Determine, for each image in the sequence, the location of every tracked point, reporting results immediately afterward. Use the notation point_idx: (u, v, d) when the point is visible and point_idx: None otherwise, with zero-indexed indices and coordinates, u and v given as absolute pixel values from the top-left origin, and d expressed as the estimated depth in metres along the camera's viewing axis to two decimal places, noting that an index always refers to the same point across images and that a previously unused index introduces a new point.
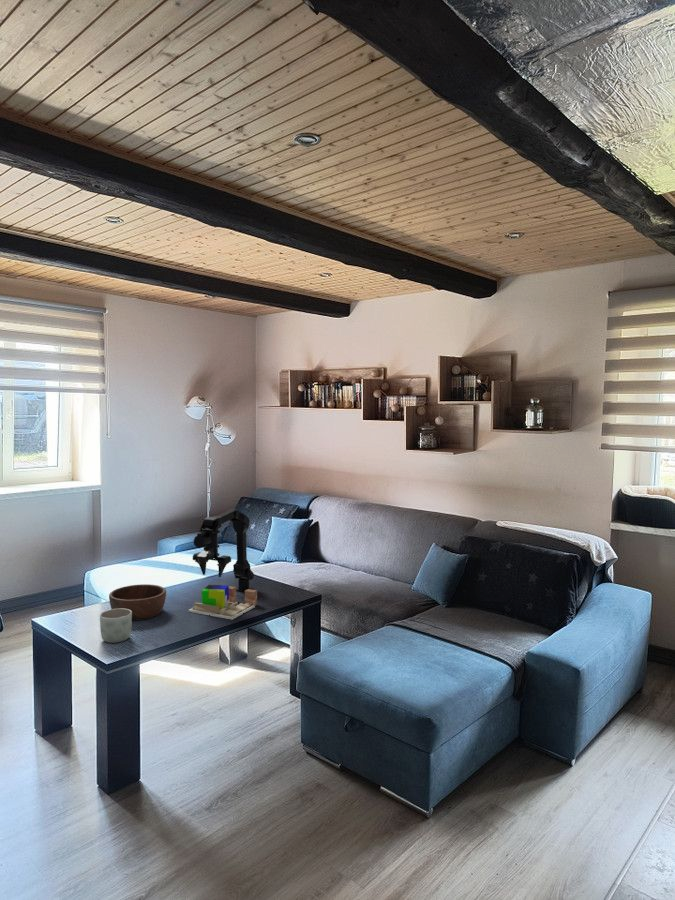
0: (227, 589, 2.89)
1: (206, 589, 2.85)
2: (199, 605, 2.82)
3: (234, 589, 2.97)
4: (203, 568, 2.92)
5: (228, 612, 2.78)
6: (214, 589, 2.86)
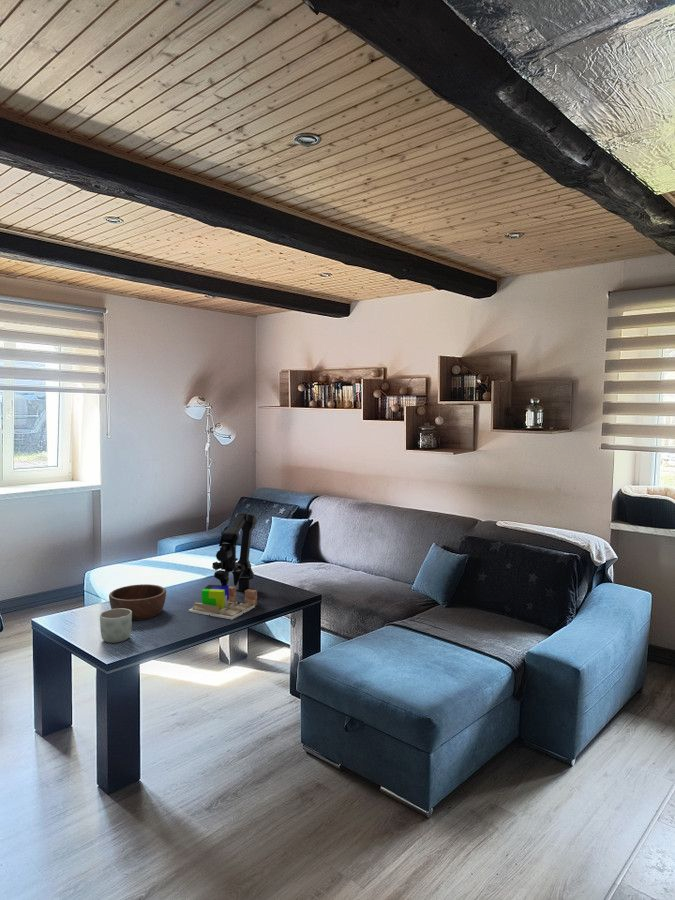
0: (227, 589, 2.89)
1: (206, 589, 2.85)
2: (199, 605, 2.82)
3: (234, 589, 2.97)
4: (234, 579, 3.02)
5: (228, 612, 2.78)
6: (214, 589, 2.86)
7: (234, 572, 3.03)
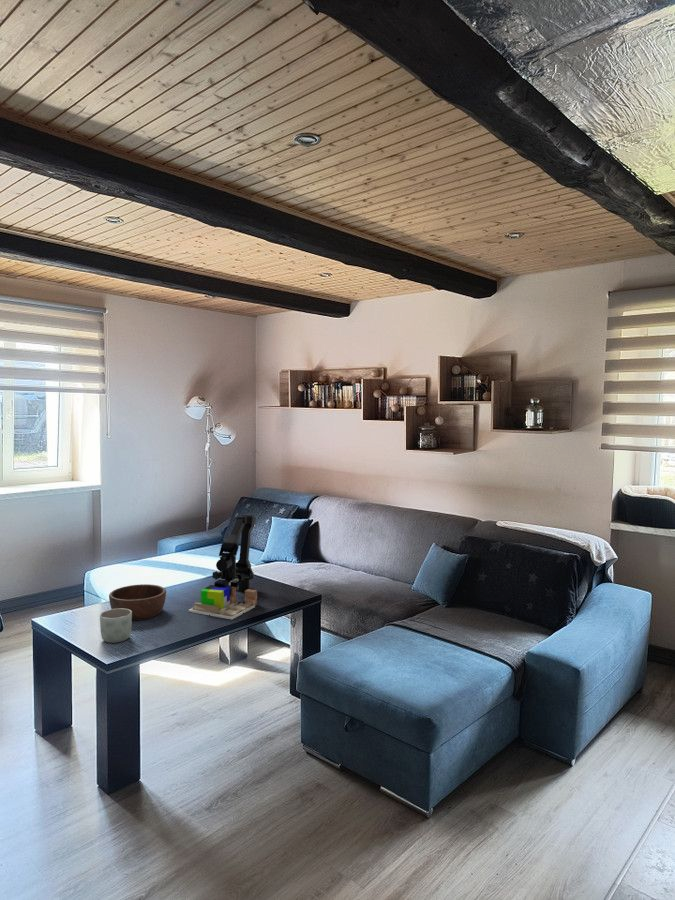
0: (227, 590, 2.88)
1: (206, 589, 2.84)
2: (199, 605, 2.82)
3: (234, 589, 2.97)
4: None
5: (228, 612, 2.78)
6: (213, 589, 2.85)
7: (231, 583, 3.00)
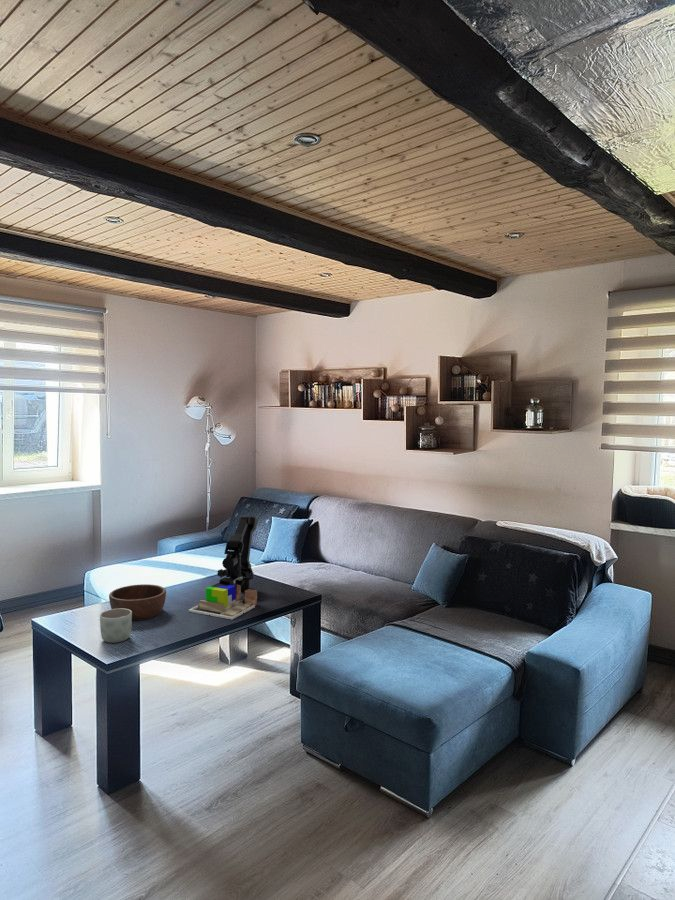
0: (233, 589, 2.89)
1: (211, 587, 2.88)
2: (204, 602, 2.86)
3: (239, 587, 3.01)
4: None
5: (228, 612, 2.78)
6: (218, 587, 2.88)
7: (235, 581, 3.04)
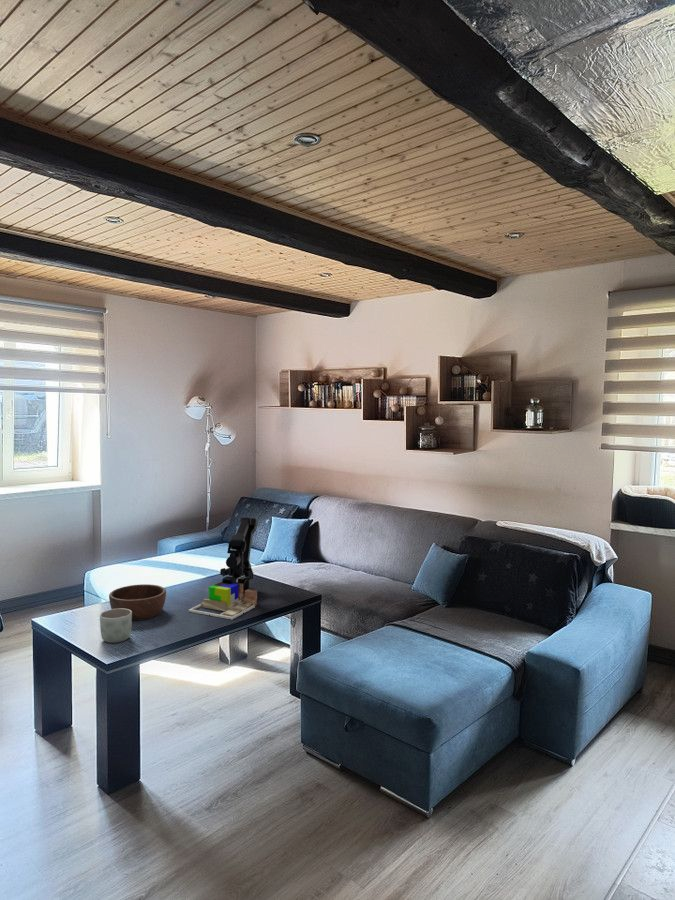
0: (235, 588, 2.91)
1: (214, 586, 2.90)
2: (207, 601, 2.88)
3: (241, 586, 3.03)
4: None
5: (228, 612, 2.78)
6: (221, 586, 2.90)
7: (238, 579, 3.06)
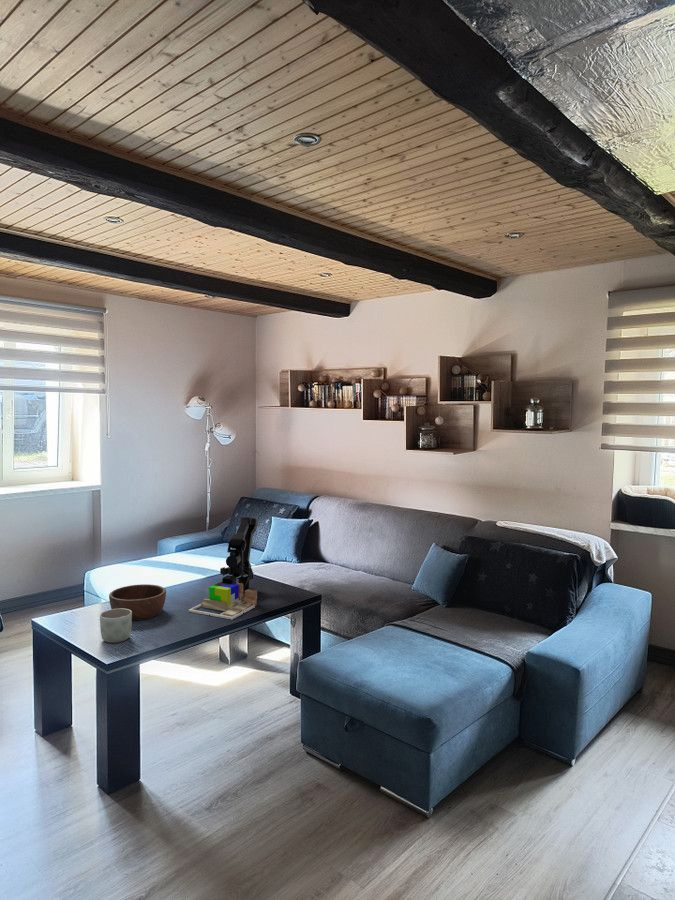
0: (236, 588, 2.92)
1: (214, 586, 2.90)
2: (207, 601, 2.88)
3: (241, 586, 3.03)
4: None
5: (228, 612, 2.78)
6: (222, 586, 2.90)
7: (241, 577, 3.09)
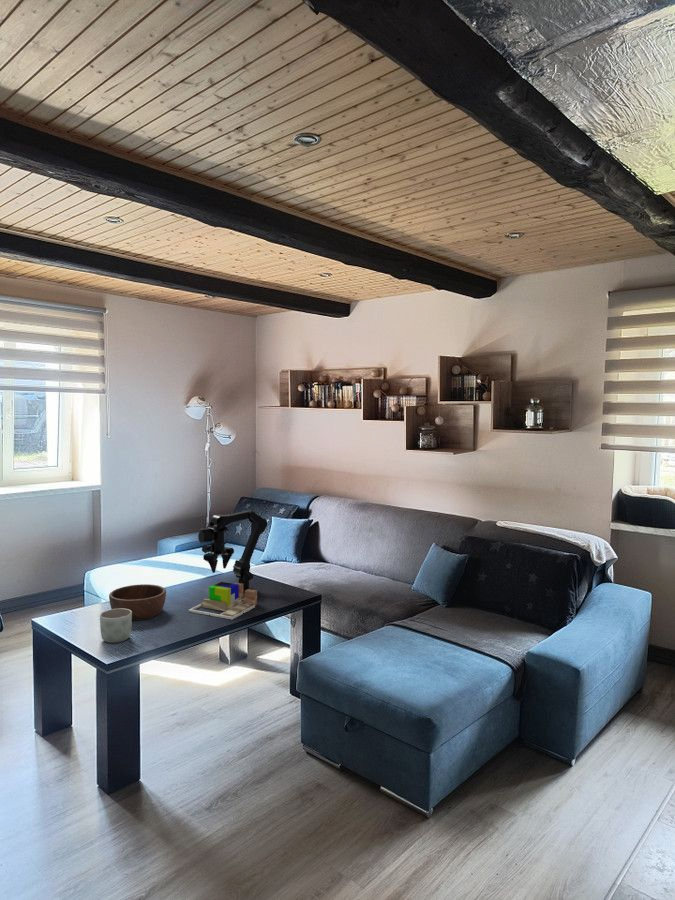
0: (236, 588, 2.92)
1: (214, 586, 2.90)
2: (207, 601, 2.88)
3: (241, 586, 3.03)
4: (223, 562, 3.10)
5: (228, 612, 2.78)
6: (222, 586, 2.90)
7: (223, 555, 3.11)
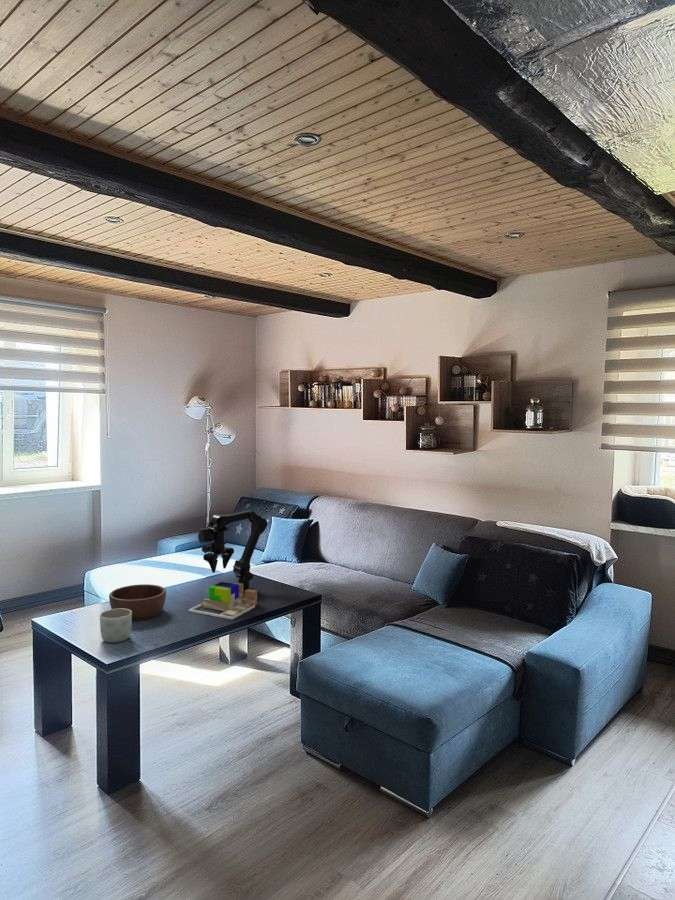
0: (236, 588, 2.91)
1: (214, 586, 2.90)
2: (207, 601, 2.88)
3: (241, 586, 3.03)
4: (223, 562, 3.10)
5: (228, 612, 2.78)
6: (222, 586, 2.90)
7: (223, 555, 3.11)
